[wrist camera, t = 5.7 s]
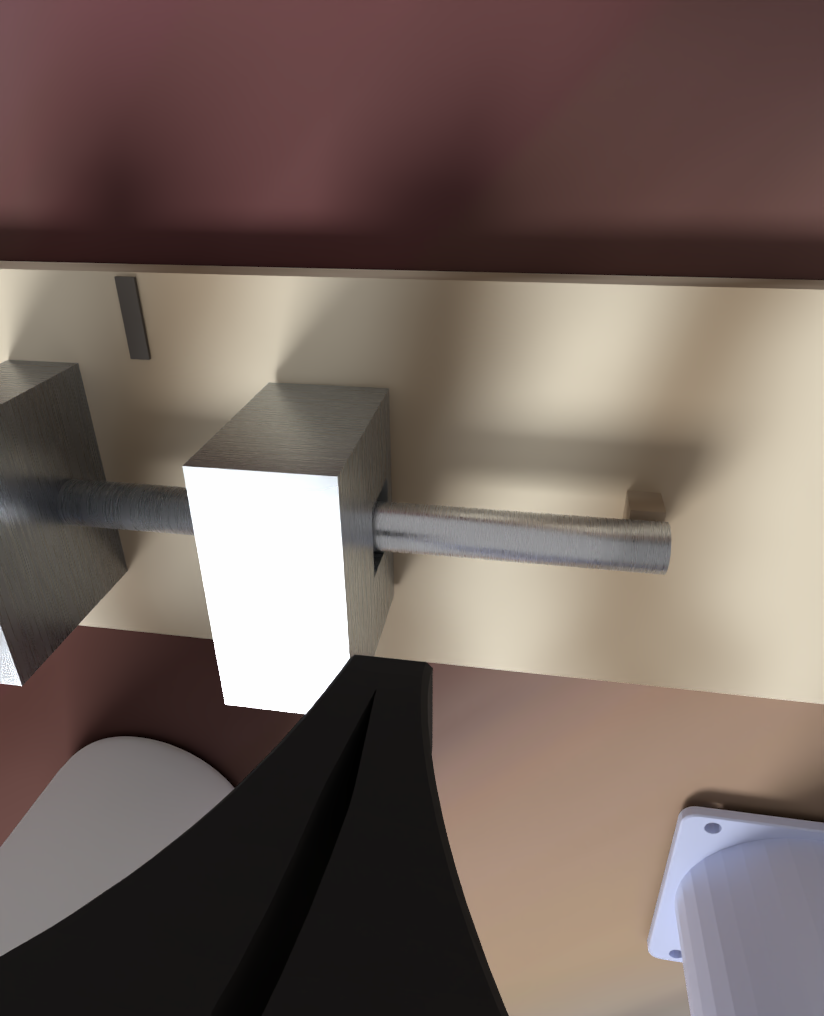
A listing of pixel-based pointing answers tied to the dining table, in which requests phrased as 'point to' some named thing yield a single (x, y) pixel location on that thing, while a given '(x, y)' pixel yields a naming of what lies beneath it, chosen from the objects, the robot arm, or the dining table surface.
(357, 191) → the dining table surface
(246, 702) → the grey block with hole
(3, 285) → the bolt board
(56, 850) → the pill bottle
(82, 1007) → the robot arm
